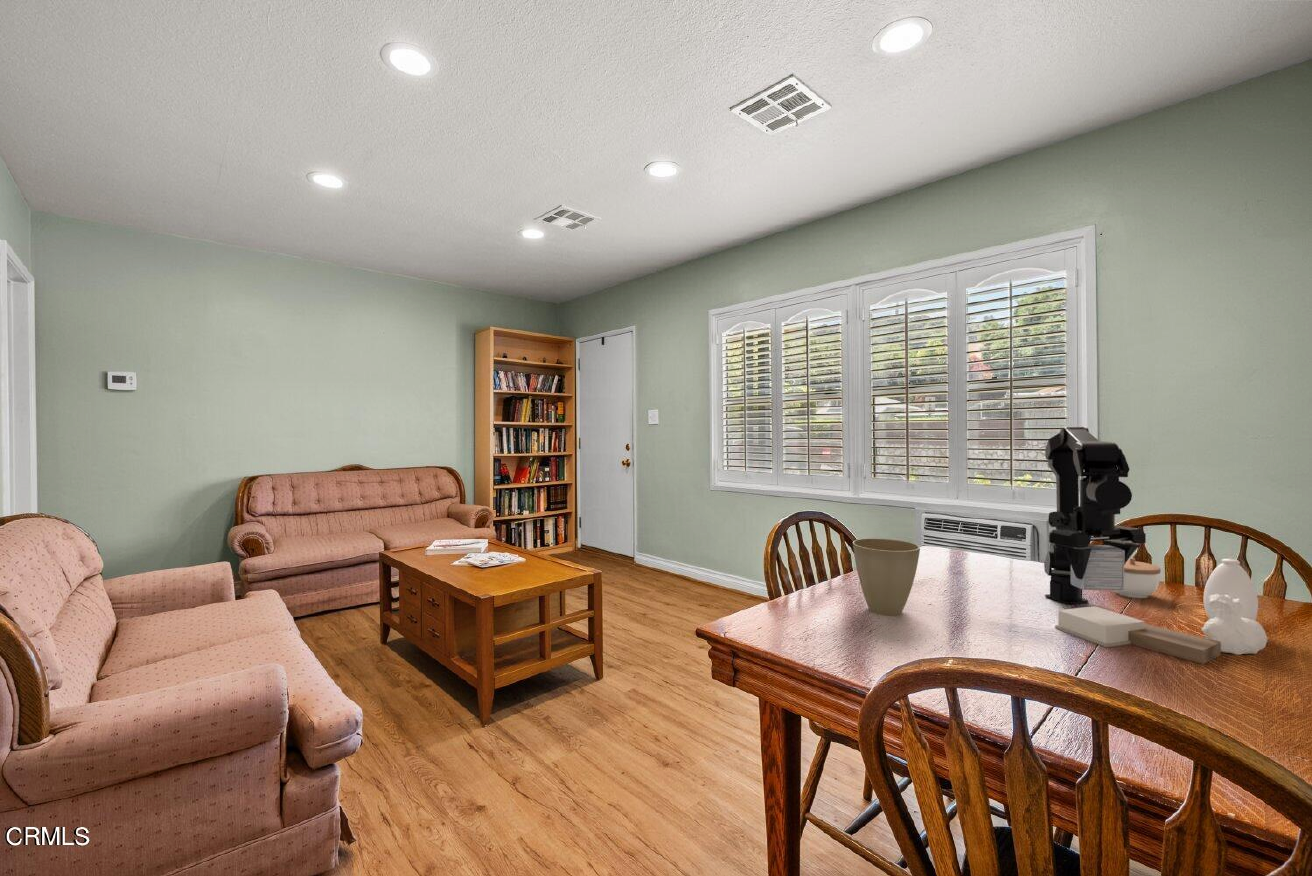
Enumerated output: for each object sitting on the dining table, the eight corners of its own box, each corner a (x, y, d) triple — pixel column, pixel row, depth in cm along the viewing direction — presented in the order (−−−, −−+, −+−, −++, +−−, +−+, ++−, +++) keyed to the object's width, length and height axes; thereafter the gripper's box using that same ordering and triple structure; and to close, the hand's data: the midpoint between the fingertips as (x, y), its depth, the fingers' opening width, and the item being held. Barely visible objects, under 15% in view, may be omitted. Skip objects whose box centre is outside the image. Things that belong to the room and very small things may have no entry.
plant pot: (911, 626, 122) (911, 554, 122) (844, 613, 131) (844, 545, 131) (926, 608, 134) (926, 542, 134) (863, 597, 143) (863, 535, 143)
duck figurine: (1256, 658, 109) (1218, 602, 116) (1295, 646, 103) (1252, 588, 110) (1202, 661, 108) (1166, 604, 115) (1238, 650, 102) (1198, 590, 109)
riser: (1094, 623, 123) (1094, 605, 123) (1148, 641, 112) (1148, 622, 112) (1055, 628, 120) (1055, 609, 120) (1106, 647, 110) (1106, 627, 110)
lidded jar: (1096, 592, 145) (1096, 556, 145) (1119, 586, 150) (1119, 552, 150) (1146, 603, 136) (1146, 565, 135) (1169, 597, 140) (1169, 560, 140)
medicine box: (1109, 585, 118) (1109, 545, 118) (1124, 591, 114) (1125, 549, 114) (1069, 584, 119) (1070, 544, 119) (1083, 590, 114) (1083, 548, 114)
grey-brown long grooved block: (1141, 634, 116) (1141, 622, 116) (1220, 655, 105) (1220, 642, 105) (1123, 642, 112) (1123, 629, 112) (1203, 664, 102) (1203, 650, 102)
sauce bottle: (1241, 641, 112) (1241, 552, 111) (1194, 628, 119) (1195, 544, 119) (1267, 637, 114) (1268, 549, 114) (1219, 624, 121) (1220, 542, 121)
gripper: (1094, 496, 126) (1094, 565, 126) (1026, 499, 122) (1026, 570, 122) (1148, 503, 115) (1147, 578, 115) (1075, 507, 111) (1074, 584, 111)
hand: (1096, 577), depth 116 cm, fingers closed on medicine box, 9 cm apart
